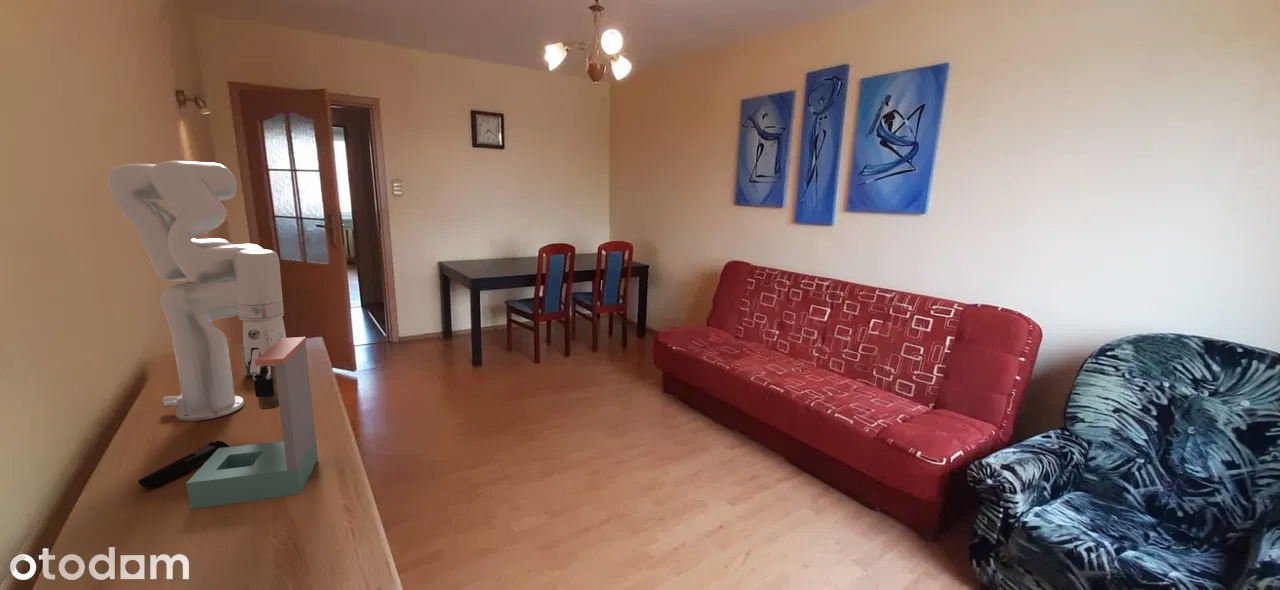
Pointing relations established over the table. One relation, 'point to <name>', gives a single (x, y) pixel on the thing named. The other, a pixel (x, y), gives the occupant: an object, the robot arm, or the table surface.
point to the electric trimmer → (181, 465)
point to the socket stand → (266, 464)
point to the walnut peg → (272, 400)
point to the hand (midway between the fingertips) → (269, 390)
